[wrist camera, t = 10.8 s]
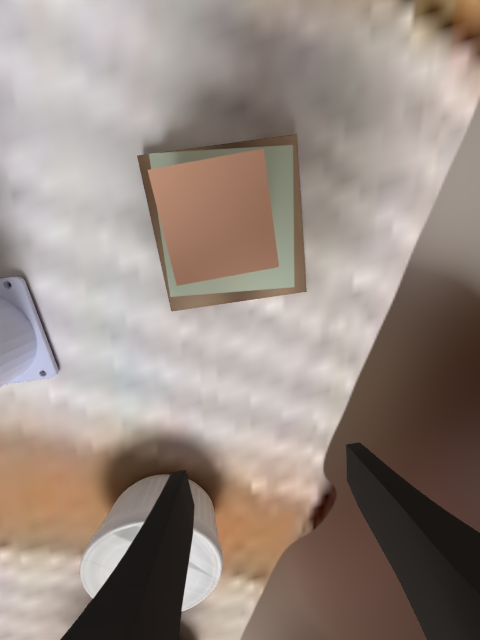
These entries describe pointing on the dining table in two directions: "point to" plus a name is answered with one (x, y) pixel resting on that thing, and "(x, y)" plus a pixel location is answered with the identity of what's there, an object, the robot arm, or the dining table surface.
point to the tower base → (230, 297)
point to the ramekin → (126, 525)
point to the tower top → (283, 220)
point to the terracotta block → (216, 216)
